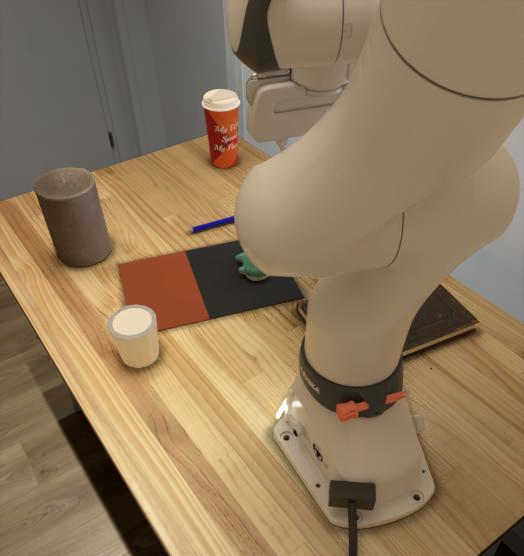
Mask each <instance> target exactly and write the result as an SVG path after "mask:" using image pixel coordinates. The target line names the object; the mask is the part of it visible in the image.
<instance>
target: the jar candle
mask: <svg viewBox="0 0 524 556" xmlns="http://www.w3.org/2000/svg"><path fill="white" fill-rule="evenodd" d="M107 330H108V332H109V335H110V336H111V338H112V340H113V343H114V345H115V347H116V349H117V352H118V353H119V356H120V358H121V360H122V361H123V363H124V364H125V365H126V366H128V367H130V368H135V369H140V368H146V367H148V366H151V365H153V363H155V362H156V361H157V360H158V358H159V355H160V345H159V333H158V332H159V331H157V320H156V314H155V313H154V311H153V310H152V309H150V308H148V307H146V306H143V305H129V306H127V305H125V306H122V307H120V308H118V309H116V310H115V311H114V312H113V313H111V315H110V316H109V319H108V320H107Z"/></svg>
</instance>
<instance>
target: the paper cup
mask: <svg viewBox="0 0 524 556" xmlns="http://www.w3.org/2000/svg"><path fill="white" fill-rule="evenodd" d="M240 105H241V100H240V98H239V97H238V94H237V92H235V91H234V90H230V89H226V88H225V89H224V88H216V89H211V90H209V91H207V92H205V93H204V94H203V96H202V101H201V106H202V108H203V112H204V119H205V120H204V121H205V127H206V134H207V141H208V148H209V153H210V154H209V155H210V161H211V164H212V165H213V166H214V167H216V168H221V169H226V168H227V169H228V168H231V167H234V166H235V165H236V164H237V163H238V155H239V154H238V149H239V107H240Z"/></svg>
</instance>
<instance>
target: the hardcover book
mask: <svg viewBox="0 0 524 556" xmlns="http://www.w3.org/2000/svg"><path fill="white" fill-rule="evenodd" d="M308 300H309V298H308V299H304V300H302V301H299V302H296V305H295V311H296V313H297V315H298V316H299V318H300V319H301V320H302V322H303V323H304V324H305V325H306V319H307V306H308ZM479 323H480V320H479V319H478V318H477V317H476V316H475V315H474V314H473V313H472V312H470V310H469V309H468V308H467V307H465V306H464V304H462V303H461V302H460V301H459V300H458V298H456V297H455V296H454V295H453V293H451V292H450V291H449V290H448V289H447V288H445V286H443V285H442V283H440V285H439V286H438V287H437V288H436V289H435V290H434V291H433V292H432V294H431V295H430V296H429V297H428V298H427V300H426V301H425V302H424V303H423V305H422V306H421V307H420V309H419V310H418V312H417V313H416V315H415V317H414V319H413V321H412V323H411V326H410V329H409V331H408V334H407V337H406V340H405V343H404V346H403V349H402V354H403V361H404V360H406V359H409V358H411V357H413V356H417V355H418V354H419V355H420V354H421V353H424V352H427V351H430V350H432V349H435V348H436V347H439V346H442V345H444V344H447V343H449V342H452V341H455V340H457V339H460V338H462V337H465V336H467V335H469V334H472V333H475V332H476V331H477V329H476V328H475V327H476V325H477V324H479Z"/></svg>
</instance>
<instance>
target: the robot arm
mask: <svg viewBox="0 0 524 556" xmlns="http://www.w3.org/2000/svg"><path fill="white" fill-rule="evenodd" d="M226 28H227V36H228V39H229V43H230V48H231V50H232V53H233V55H234V56H235V57H236V58H237V59H238V60H239V61H240V62H241V63H242V64H244V65H245V66H246V67H247V68H248V69H250V70H251V71H252V72H254V73H253V74H251V75H250V76H249V77H248V79H247V80H246V82H245V98H246V101H247V108H246V130H247V132H248V135H250V137H251V138H252V139H253V140H254V141H255V142H256V143H258V144H260V143H267V142H274V141H275V143H276V145H277V147H278V148H279V150H280V152H279V153H277V154H275V155H274V156H271V157H270V158H268V159H266V160H265V161H262V162H260V163H258V164H256V165H254V166H252V167H251V169H249V171H248V172H247V174H246V175H245V176H244V179H243V180H242V182H241V184H240V186H239V188H238V191H237V194H236V198H235V199H236V200H235V202H234V203H235V204H234V211H233V216H234V219H235V221H234V228H235V232H236V236H237V237H236V238H237V240H239V242H240V245H241V247H242V249H243V251H244V252H245V254H246V255H247V257H248V258H249V260H250V261H251V262H252V263H253V264H254V265H255V266H256V267H257V268H258V269H259V270H260V271H262V272H263V273H265V274H266V275H268V276H283V277H294V278H307V279H308V278H309V279H310V278H311V279H313V278H316V279H318V278H319V279H318V280H317V282H316V283H315V285H314V286H313V288H312V290H311V292H310V294H309V297H308V299H309V300H308V299H307V300H308V306H307V319H306V324H305V331H304V332H305V334H304V335H303V337H302V340H301V343H300V347H299V351H298V372H297V374H296V376H295V377H294V379H293V381H292V383H291V385H290V386H289V387H288V390H287V392H286V398H285V399H284V401H283V402H282V404H281V406H280V408H279V410H278V411H277V413H276V416H275V418H277V419H279V420H278V421H277V423H276V424H275V425H274V427H273V431H272V437H273V440H274V441H275V442H276V444H277V446H278V447H279V449H280V450H281V452H282V453H283V454H284V456H285V457H286V459H287V460H288V462H289V464H290V465H291V466H292V468H293V470H294V471H295V473H296V474H297V476H299V479H300V480H301V481H302V483H303V485H304V486H305V488H306V489H307V490H308V492H309V494H310V495H311V496H312V499H314V501H315V503H316V504H317V505H318V507H319V508H320V510H321V512H322V513H323V514H324V516H325V517H326V519H327V520H328V522H329V523H330V524H332V525H334V526H336V527H340V528H344V529H347V530H348V556H358V553H359V552H358V551H359V550H358V549H359V547H358V542H359V541H358V529H369V528H374V527H379V526H380V527H381V526H383V525H387V524H391V523H393V522H396V521H399V520H402V519H404V518H406V517H409V516H411V515H412V514H414V513H415V512H417V511H419V510H420V509H422V508H423V507H424V506H425V505H426V504H427V503H428V502H429V501H430V500H431V499H432V497H433V495H434V493H435V491H436V486H435V482H434V479H433V475H432V474H431V471H430V468H429V465H428V462H427V459H426V456H425V454H424V451H423V448H422V446H421V442H420V440H419V436H418V435H417V434H421V433H423V432H424V431H425V429H426V427H425V425H426V423H425V420H424V417H423V415H421V414H420V413H416V414H412V412H411V409H410V406H409V402H408V398H407V397H409V396H410V394H411V391H410V390H411V389H410V387H409V385H407V384H406V385H404V371H405V363H404V360H403V354H402V349H403V346H404V343H405V340H406V337H407V334H408V331H409V329H410V326H411V323H412V321H413V319H414V317H415V315H416V313H417V312H418V310H419V309H420V307H421V306H422V305H423V303H424V302H425V301H426V300H427V298H428V297H429V296H430V295H431V294H432V292H433V291H434V290H435V289H436V288H437V287H438V286H439V285H440V284H442V283H443V282H444V280H446V278H448V277H449V275H451V273H452V272H454V270H456V269H457V268H458V267H459V266H460V265H461V264H463V262H465V261H466V260H467V259H469V258H470V257H471V256H473V255H475V254H476V253H477V252H478V251H480V250H482V249H483V248H485V247H486V246H488V245H490V244H491V243H493V242H495V241H497V240H498V239H500V238H501V237H502V236H503V235H504V234H505V233H506V231H507V230H508V228H509V227H510V225H511V224H512V222H513V220H514V218H515V215H516V212H517V210H518V207H519V202H520V195H521V184H520V175H519V171H518V168H517V165H516V162H515V161H514V159H513V157H512V155H511V154H510V152H509V151H508V149H507V148H506V147H505V146H504V145H503V144H505V142H506V141H507V139H508V138H509V137H510V135H511V134H512V133H513V132H514V131H515V129H516V128H517V127H518V125H519V124H520V122H522V120H523V119H524V0H228V1H227V7H226ZM298 137H299V138H298ZM293 138H298V139H297V140H296V141H294V142H293V143H292V144H290V145H289V146H288V147H286V145H288V144H289V139H293ZM282 413H283V415H282ZM281 416H282V417H281ZM280 417H281V418H280ZM285 439H288V440H285ZM414 498H417V499H418V500H416V499H414Z"/></svg>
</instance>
